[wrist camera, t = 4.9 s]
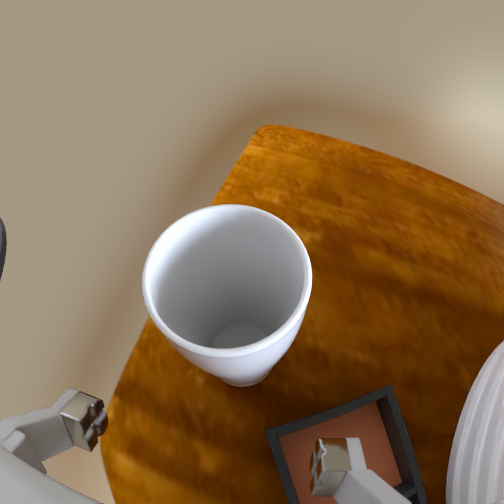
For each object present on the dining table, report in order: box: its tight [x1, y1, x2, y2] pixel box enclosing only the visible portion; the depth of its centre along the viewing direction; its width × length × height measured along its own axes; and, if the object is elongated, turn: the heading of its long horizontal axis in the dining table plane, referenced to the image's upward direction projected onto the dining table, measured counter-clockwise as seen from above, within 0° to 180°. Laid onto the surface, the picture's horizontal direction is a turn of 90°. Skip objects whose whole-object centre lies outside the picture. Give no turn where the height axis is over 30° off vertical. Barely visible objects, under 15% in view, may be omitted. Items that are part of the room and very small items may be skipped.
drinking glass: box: [142, 204, 312, 387], centre depth 18 cm, size 7×7×15 cm
